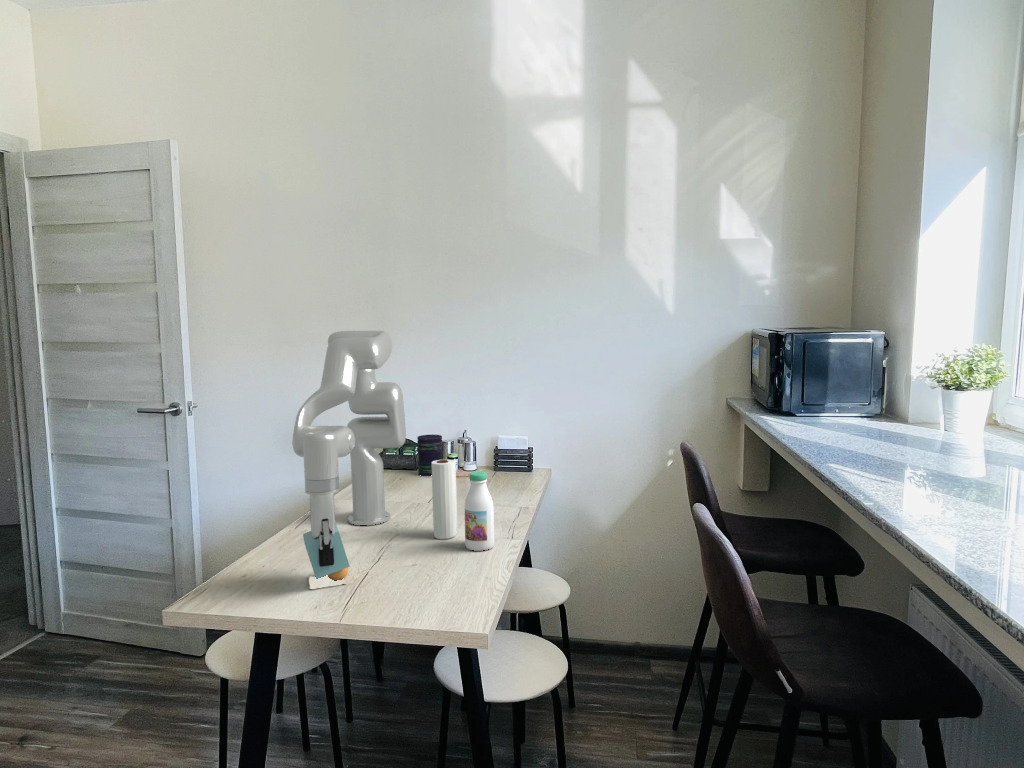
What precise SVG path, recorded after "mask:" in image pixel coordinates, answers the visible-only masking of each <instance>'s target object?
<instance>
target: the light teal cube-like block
mask: <svg viewBox="0 0 1024 768" xmlns="http://www.w3.org/2000/svg"><path fill="white" fill-rule="evenodd" d="M339 531H340V530H339V529H338V526H337V523H336V521H335V534H334V535H333V536H332V545H333V548H334V565H331V566H323V567H320V566H319V549H320V544H319V536H318V537H316V538H313V537H312V533H311V530H310V531H307V532H304V533H302V537H303V543H304V546H305V549H306V552H307V555H308V557H309V561H310V565H311V567H312V571H313V574H314V576H315V577H316V579H318V578H321V577H324V576H326V575H329V574H331V573H334V572H337V571H339V570H342V569H345V568H347V567H348V568H351V567H350V563H349V560H348V556H347V554H346V551H345V550H346V549H345V548H344V544H343V541H342V538H341V535H340V532H339ZM331 532H332V531H331ZM329 534H330V533H329ZM321 535H323V533H322V534H321ZM322 540H324V538H322Z"/></svg>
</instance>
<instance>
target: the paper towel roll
mask: <svg viewBox="0 0 1024 768" xmlns="http://www.w3.org/2000/svg"><path fill="white" fill-rule="evenodd" d="M456 467H457V464H456V458H454V459H453V460H452V459H442V460H436V461H433V462H432V477H431V484H432V485H431V488H432V489H431V491H432V517H433V518H432V521H433V523H432V524H433V537H434V538H435V539H439V540H448V539H452V538H455V536H456V535H457V532H458V512H457V511H458V507H457V506H458V505H457V503H458V501H457V500H458V499H457V473H456V471H457V470H456Z"/></svg>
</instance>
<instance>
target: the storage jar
mask: <svg viewBox="0 0 1024 768" xmlns="http://www.w3.org/2000/svg"><path fill="white" fill-rule="evenodd" d="M416 438H417V444H416V447H417V448H416V449H417V453H418V456H417V457H418V460H417V469H418V476H419V475H421V476H420V477H422V476H431V475H432V462H433V461H436V460H443V440H442V439H443V435H441V434H423V435H419V436H417V437H416Z"/></svg>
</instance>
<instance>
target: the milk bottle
mask: <svg viewBox="0 0 1024 768" xmlns="http://www.w3.org/2000/svg"><path fill="white" fill-rule="evenodd" d="M469 482H470V486H469V490H468V492H467V495H466V496H465V497H466V498H465V502H464V539H465V542H464V543H465V545H464V546H465V547H466V549H467V550H469V551H472V550H474V551H473V552H482V551H483V550H485V551H489V550H491V549H493V548H494V547H493V546H495V518H494V517H495V515H494V511H495V509H494V501H493V498H492V495H491V493H490V492H489V489H488V486H487V482H488V474H487V472H485V471H473V472H472V471H471V472H470V473H469ZM488 549H489V550H488Z"/></svg>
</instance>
